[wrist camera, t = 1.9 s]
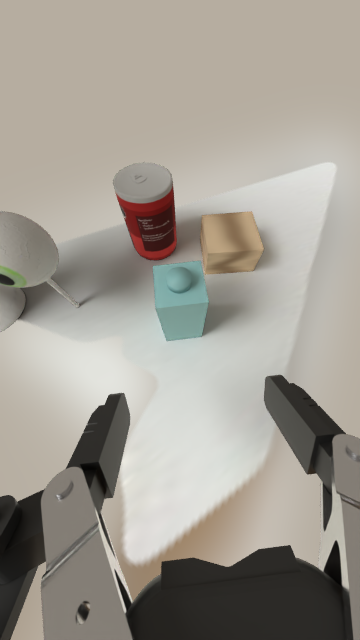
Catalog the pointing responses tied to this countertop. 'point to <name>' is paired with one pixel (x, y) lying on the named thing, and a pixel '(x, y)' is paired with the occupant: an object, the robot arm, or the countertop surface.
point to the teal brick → (180, 299)
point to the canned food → (148, 208)
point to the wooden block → (230, 243)
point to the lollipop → (27, 254)
